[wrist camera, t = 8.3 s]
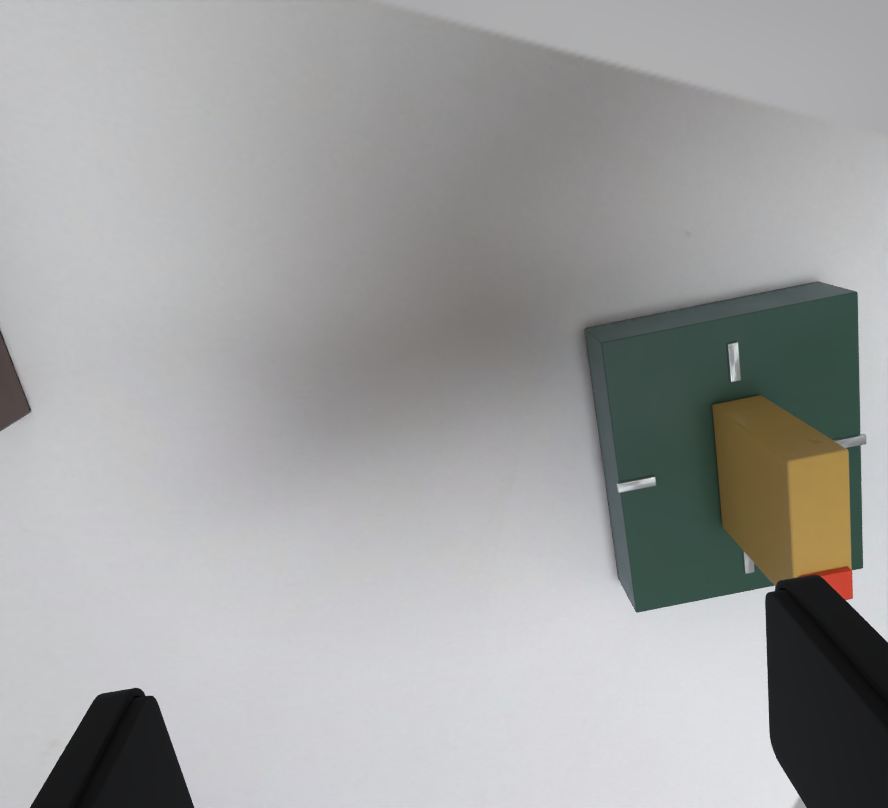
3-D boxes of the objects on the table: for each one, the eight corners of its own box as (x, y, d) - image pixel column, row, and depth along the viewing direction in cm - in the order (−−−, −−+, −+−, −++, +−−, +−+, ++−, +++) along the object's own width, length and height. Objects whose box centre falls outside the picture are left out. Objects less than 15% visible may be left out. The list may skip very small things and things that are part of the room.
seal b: (711, 404, 26) (791, 464, 21) (760, 393, 26) (854, 451, 21) (721, 528, 28) (799, 615, 22) (768, 518, 28) (858, 603, 22)
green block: (581, 328, 28) (599, 344, 25) (821, 280, 28) (863, 291, 25) (616, 580, 31) (634, 616, 29) (830, 537, 31) (868, 570, 29)
